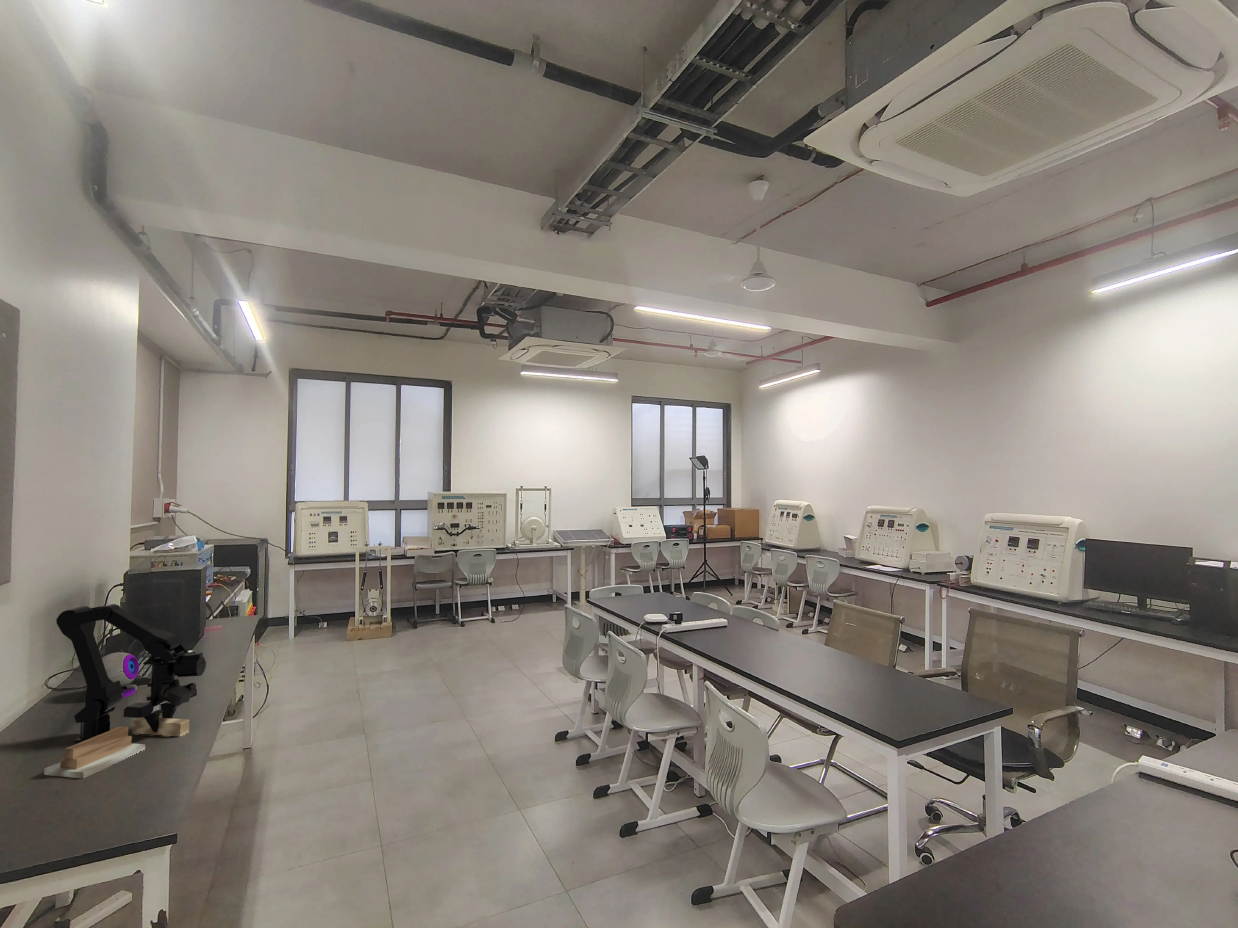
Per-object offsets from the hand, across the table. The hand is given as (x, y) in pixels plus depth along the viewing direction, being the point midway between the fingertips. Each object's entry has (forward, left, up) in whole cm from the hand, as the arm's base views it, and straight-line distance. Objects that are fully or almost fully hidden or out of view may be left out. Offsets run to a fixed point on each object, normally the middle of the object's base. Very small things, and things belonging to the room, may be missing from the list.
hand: (160, 729), depth 169 cm
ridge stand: (0, -18, -1) cm, 18 cm away
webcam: (-46, +24, -1) cm, 52 cm away
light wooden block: (0, 0, -1) cm, 1 cm away
